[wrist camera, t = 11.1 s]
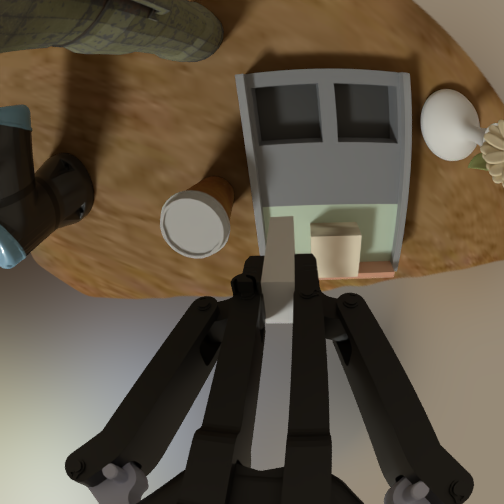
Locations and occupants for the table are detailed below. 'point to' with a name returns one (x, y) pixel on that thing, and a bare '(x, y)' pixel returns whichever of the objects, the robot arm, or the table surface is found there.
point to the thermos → (112, 27)
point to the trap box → (330, 155)
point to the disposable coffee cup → (198, 218)
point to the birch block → (336, 248)
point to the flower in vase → (462, 133)
